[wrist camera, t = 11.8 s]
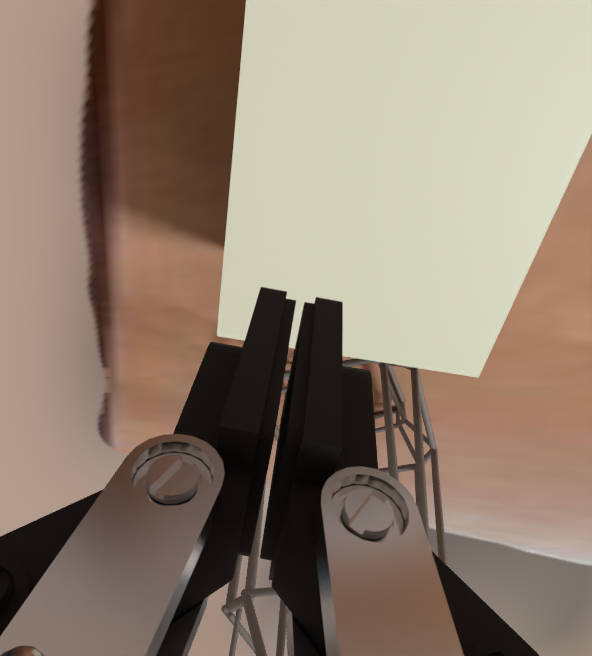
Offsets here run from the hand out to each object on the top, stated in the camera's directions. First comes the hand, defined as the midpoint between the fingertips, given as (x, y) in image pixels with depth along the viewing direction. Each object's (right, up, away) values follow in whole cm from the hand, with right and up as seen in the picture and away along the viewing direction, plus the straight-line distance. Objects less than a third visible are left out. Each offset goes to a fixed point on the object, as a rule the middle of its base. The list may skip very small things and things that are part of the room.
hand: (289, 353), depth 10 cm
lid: (+5, +8, +14) cm, 17 cm away
